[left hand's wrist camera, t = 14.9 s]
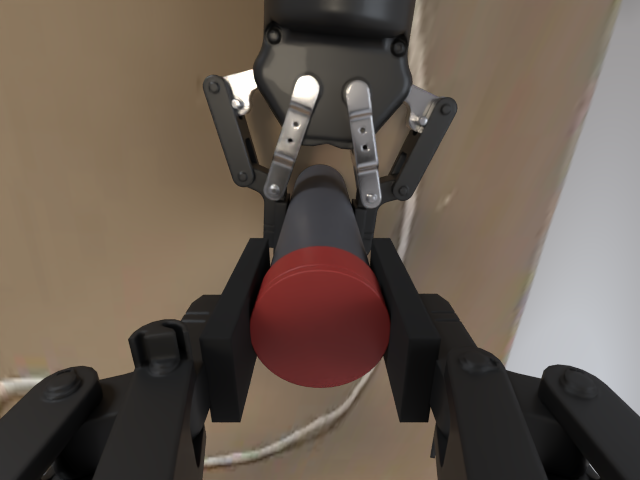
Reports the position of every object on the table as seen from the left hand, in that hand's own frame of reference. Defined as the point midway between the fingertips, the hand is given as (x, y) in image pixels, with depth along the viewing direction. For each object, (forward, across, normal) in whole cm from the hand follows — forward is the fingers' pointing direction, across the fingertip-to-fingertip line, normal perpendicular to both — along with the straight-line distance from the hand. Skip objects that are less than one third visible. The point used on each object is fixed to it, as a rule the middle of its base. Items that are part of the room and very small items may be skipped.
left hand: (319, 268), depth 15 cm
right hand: (+8, 0, -3) cm, 8 cm away
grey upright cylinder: (+14, 0, 0) cm, 14 cm away
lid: (-4, 0, 0) cm, 4 cm away
